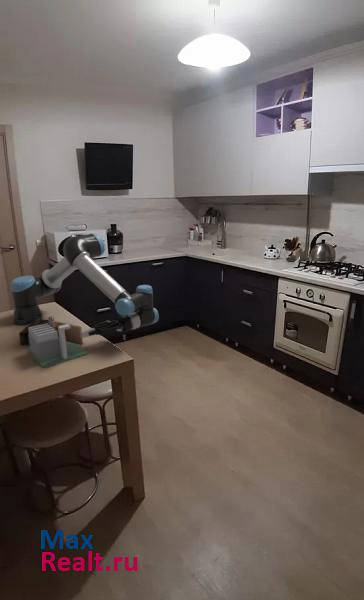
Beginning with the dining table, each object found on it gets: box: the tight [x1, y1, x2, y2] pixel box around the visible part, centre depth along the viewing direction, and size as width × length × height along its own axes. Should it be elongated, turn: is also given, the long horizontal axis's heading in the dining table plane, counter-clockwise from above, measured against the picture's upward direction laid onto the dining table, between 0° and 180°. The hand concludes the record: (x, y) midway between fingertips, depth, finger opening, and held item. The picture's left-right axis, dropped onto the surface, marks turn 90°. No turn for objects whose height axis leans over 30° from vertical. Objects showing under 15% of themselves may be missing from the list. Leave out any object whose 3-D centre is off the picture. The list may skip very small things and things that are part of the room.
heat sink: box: [27, 323, 89, 369], centre depth 150 cm, size 20×19×14 cm
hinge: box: [47, 316, 84, 346], centre depth 154 cm, size 18×2×12 cm, turn 61°
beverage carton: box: [18, 319, 49, 346], centre depth 168 cm, size 8×19×7 cm, turn 1°
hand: (80, 334), depth 151 cm, fingers closed
